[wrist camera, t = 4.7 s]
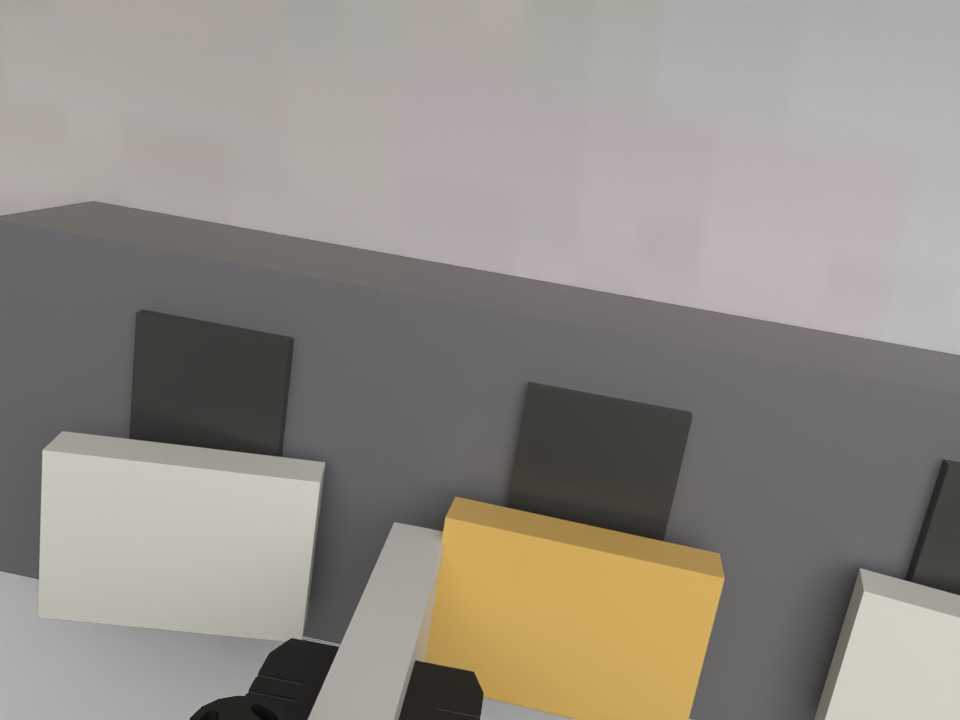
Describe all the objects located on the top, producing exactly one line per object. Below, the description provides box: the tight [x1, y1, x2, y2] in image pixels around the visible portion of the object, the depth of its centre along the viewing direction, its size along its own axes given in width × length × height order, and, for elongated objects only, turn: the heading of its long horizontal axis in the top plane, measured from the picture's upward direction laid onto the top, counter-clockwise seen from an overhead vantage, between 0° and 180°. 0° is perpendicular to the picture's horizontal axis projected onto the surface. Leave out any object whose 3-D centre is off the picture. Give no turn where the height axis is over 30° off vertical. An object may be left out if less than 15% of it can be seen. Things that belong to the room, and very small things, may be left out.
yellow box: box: [425, 497, 725, 720], centre depth 18 cm, size 5×4×1 cm
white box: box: [38, 431, 325, 642], centre depth 18 cm, size 5×4×1 cm
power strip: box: [0, 201, 960, 720], centre depth 21 cm, size 32×8×4 cm, turn 81°
